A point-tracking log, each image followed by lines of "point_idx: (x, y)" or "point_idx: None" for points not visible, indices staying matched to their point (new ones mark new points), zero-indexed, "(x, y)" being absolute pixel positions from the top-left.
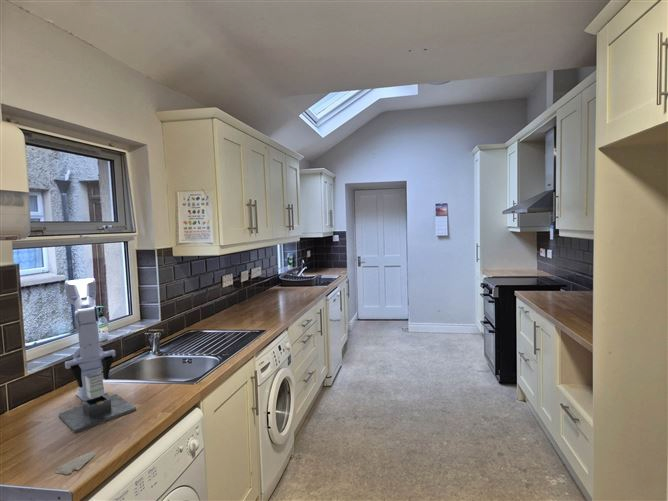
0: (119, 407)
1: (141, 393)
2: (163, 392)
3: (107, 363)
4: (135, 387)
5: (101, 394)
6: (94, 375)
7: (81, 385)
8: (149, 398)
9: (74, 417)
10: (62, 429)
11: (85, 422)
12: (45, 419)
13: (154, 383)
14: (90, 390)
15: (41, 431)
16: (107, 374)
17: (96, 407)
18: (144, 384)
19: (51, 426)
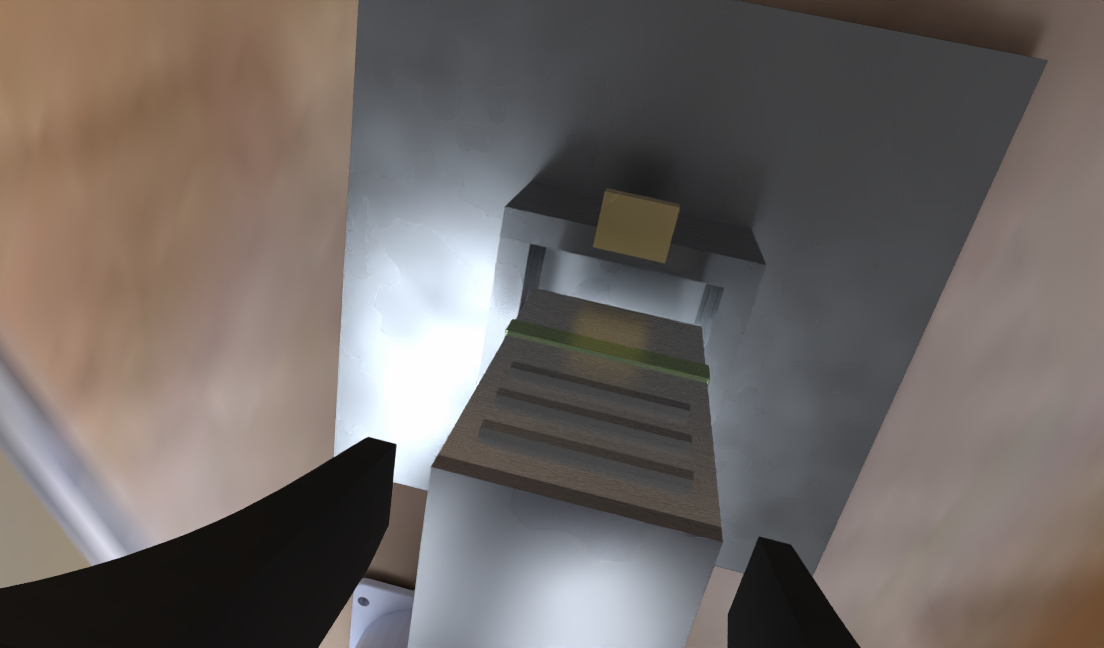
0: (462, 136)
1: (175, 296)
2: (17, 90)
3: (145, 627)
4: (165, 464)
5: (565, 302)
6: (574, 543)
7: (786, 556)
8: (165, 97)
9: (814, 373)
10: (989, 289)
11: (859, 134)
12: (882, 616)
13: (21, 378)
14: (701, 386)
15: (1076, 443)
16: (327, 475)
17: (673, 233)
18: (91, 444)
19: (969, 451)
